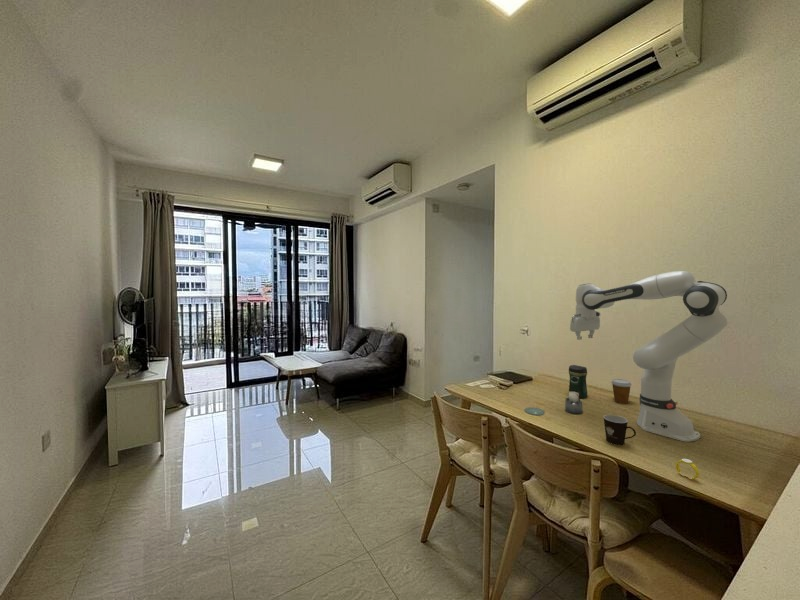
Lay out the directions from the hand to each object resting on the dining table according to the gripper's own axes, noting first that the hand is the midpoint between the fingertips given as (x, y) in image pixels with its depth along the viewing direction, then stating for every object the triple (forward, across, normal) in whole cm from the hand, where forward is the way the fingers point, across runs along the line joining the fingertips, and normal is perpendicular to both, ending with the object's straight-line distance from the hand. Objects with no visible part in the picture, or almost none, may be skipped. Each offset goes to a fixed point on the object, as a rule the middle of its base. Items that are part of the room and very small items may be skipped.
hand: (585, 338), depth 173 cm
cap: (+33, -10, -1) cm, 35 cm away
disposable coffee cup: (+38, +26, -4) cm, 46 cm away
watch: (+38, -30, -57) cm, 75 cm away
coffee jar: (+38, +14, +14) cm, 43 cm away
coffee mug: (+38, -26, -32) cm, 56 cm away
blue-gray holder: (+38, -10, -1) cm, 39 cm away
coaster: (+38, -28, +9) cm, 48 cm away
